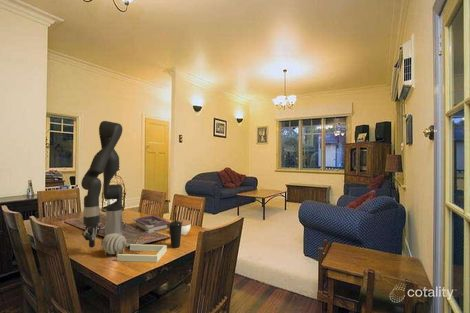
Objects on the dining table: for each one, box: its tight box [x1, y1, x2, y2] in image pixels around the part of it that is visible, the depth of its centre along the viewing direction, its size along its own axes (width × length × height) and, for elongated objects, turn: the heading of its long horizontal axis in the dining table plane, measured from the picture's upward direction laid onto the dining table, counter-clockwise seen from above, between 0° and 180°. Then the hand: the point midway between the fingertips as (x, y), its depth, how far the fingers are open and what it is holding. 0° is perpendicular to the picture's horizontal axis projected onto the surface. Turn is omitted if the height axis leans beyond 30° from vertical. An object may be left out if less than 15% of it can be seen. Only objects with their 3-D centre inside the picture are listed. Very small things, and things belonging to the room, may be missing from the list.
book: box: [132, 214, 171, 234], centre depth 183 cm, size 25×16×5 cm, turn 43°
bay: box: [116, 243, 168, 263], centre depth 133 cm, size 20×14×3 cm
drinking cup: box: [169, 211, 182, 249], centre depth 145 cm, size 8×8×20 cm
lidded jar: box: [177, 218, 192, 236], centre depth 168 cm, size 11×11×9 cm
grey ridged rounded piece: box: [100, 233, 130, 258], centre depth 134 cm, size 11×17×11 cm, turn 78°
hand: (91, 246), depth 134 cm, fingers closed
